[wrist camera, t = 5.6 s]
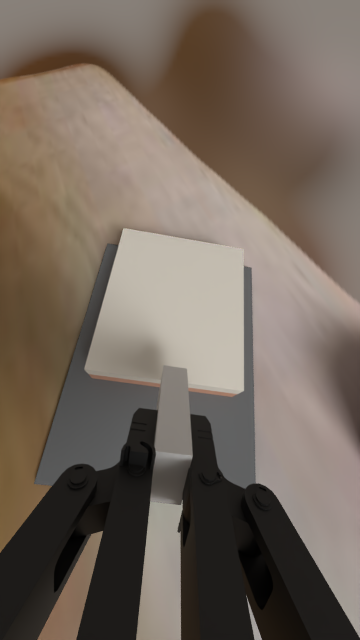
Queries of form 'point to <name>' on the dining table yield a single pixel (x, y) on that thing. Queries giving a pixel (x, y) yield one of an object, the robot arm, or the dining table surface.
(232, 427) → the mat
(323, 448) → the dining table surface
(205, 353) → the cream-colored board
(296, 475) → the dining table surface
